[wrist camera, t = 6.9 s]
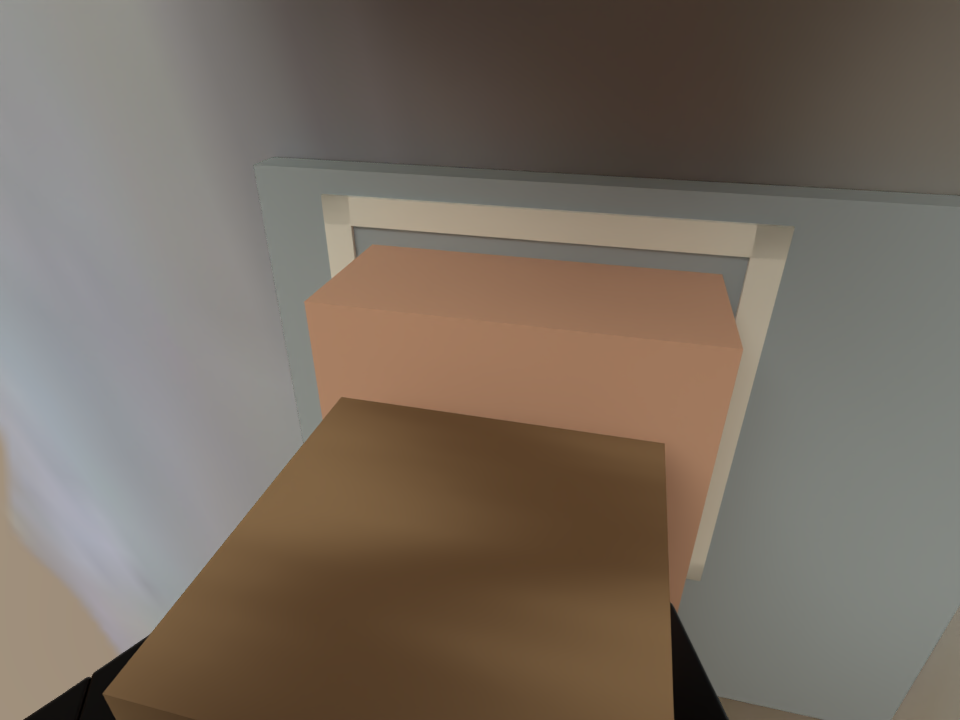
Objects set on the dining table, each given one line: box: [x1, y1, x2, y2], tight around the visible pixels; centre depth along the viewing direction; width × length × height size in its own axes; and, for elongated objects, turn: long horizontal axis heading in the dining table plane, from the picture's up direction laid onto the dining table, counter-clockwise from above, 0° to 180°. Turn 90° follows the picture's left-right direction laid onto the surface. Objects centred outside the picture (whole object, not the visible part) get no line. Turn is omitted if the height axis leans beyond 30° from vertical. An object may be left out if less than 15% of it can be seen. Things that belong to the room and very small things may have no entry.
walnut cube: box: [103, 397, 674, 720], centre depth 8 cm, size 5×5×5 cm
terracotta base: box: [304, 244, 743, 613], centre depth 13 cm, size 7×7×3 cm
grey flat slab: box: [253, 157, 960, 720], centre depth 15 cm, size 16×14×1 cm
